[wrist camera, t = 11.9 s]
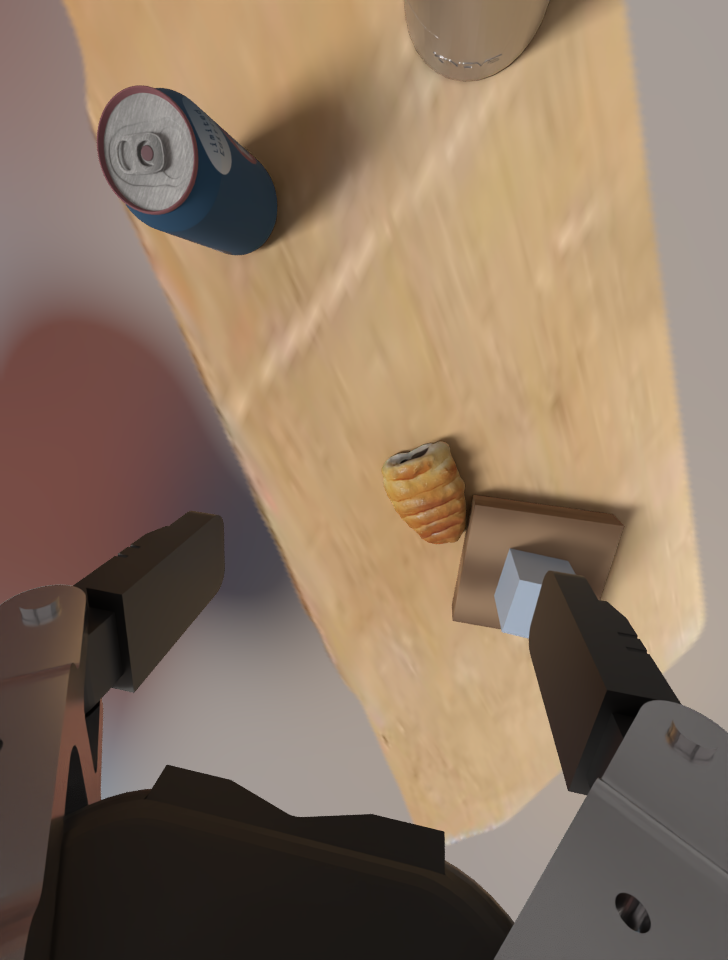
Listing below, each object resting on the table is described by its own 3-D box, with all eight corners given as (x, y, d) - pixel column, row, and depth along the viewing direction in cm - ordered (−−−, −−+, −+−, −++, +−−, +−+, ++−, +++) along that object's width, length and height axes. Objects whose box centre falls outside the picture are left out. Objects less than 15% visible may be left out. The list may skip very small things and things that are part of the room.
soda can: (279, 152, 32) (195, 62, 21) (286, 255, 35) (214, 222, 24) (194, 160, 34) (72, 77, 22) (206, 259, 36) (101, 229, 25)
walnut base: (472, 492, 39) (475, 504, 37) (610, 511, 38) (624, 526, 35) (451, 602, 44) (452, 620, 41) (575, 623, 42) (585, 644, 39)
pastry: (482, 524, 40) (486, 543, 36) (415, 546, 42) (412, 566, 38) (444, 432, 38) (445, 443, 34) (375, 460, 40) (368, 473, 36)
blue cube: (509, 548, 37) (519, 579, 33) (568, 561, 37) (587, 594, 32) (494, 595, 39) (501, 632, 35) (549, 608, 39) (565, 647, 34)
